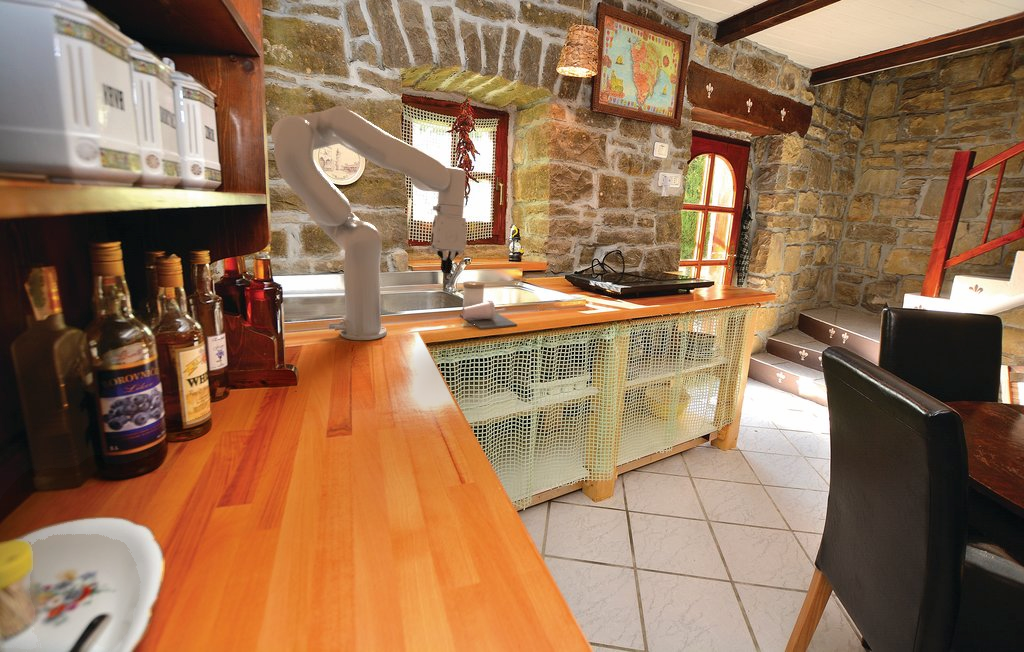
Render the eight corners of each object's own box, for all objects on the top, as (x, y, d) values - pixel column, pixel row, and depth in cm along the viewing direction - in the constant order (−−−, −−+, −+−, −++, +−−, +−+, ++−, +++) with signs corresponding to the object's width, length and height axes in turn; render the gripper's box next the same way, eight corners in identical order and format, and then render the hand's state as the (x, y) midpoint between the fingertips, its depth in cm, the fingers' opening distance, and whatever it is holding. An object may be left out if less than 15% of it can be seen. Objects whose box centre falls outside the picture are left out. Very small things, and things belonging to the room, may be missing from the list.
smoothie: (467, 311, 149) (509, 306, 155) (461, 299, 154) (501, 295, 159) (466, 327, 153) (506, 321, 158) (460, 315, 158) (499, 310, 163)
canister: (467, 314, 164) (468, 286, 162) (458, 309, 170) (459, 281, 168) (486, 313, 168) (488, 285, 165) (477, 308, 174) (478, 280, 171)
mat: (480, 329, 148) (480, 327, 148) (460, 316, 162) (460, 314, 161) (516, 325, 155) (517, 324, 154) (494, 313, 168) (494, 311, 168)
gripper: (430, 209, 135) (426, 274, 139) (478, 214, 142) (473, 275, 147) (421, 208, 141) (418, 270, 146) (468, 212, 148) (463, 271, 153)
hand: (446, 272), depth 146 cm, fingers closed
